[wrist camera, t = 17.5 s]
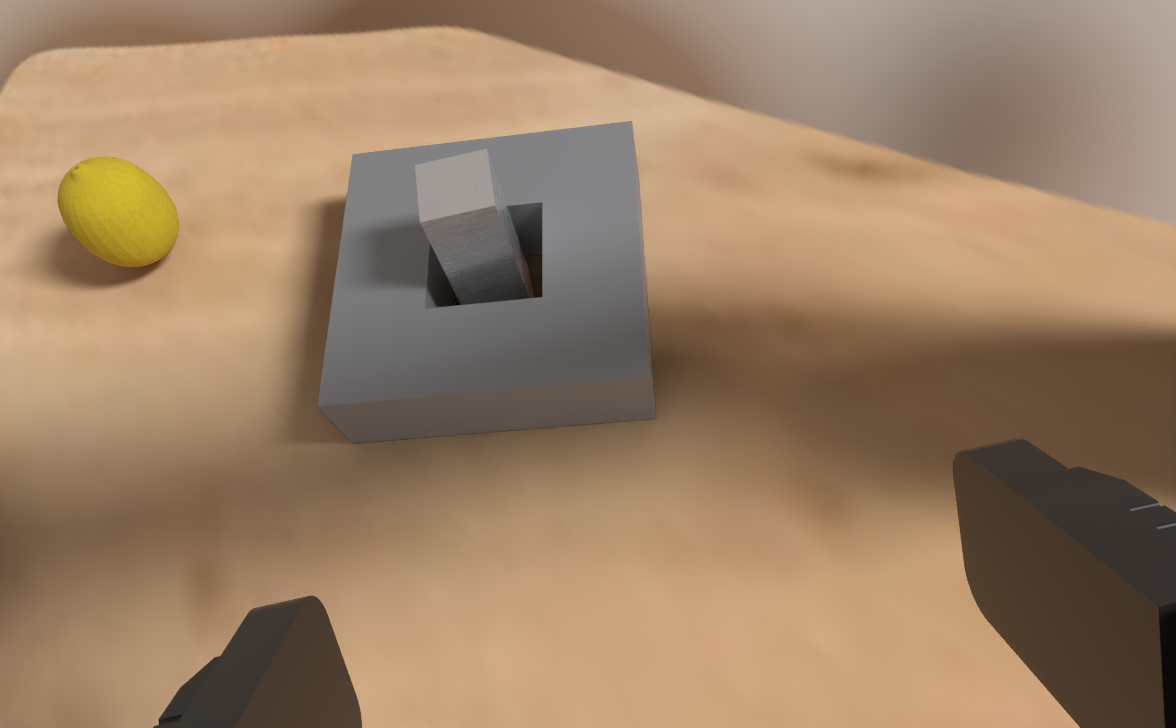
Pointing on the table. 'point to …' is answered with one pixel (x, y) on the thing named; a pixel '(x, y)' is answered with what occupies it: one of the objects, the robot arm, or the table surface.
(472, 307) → the well block
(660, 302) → the table surface
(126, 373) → the table surface
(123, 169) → the lemon
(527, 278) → the steel bar
